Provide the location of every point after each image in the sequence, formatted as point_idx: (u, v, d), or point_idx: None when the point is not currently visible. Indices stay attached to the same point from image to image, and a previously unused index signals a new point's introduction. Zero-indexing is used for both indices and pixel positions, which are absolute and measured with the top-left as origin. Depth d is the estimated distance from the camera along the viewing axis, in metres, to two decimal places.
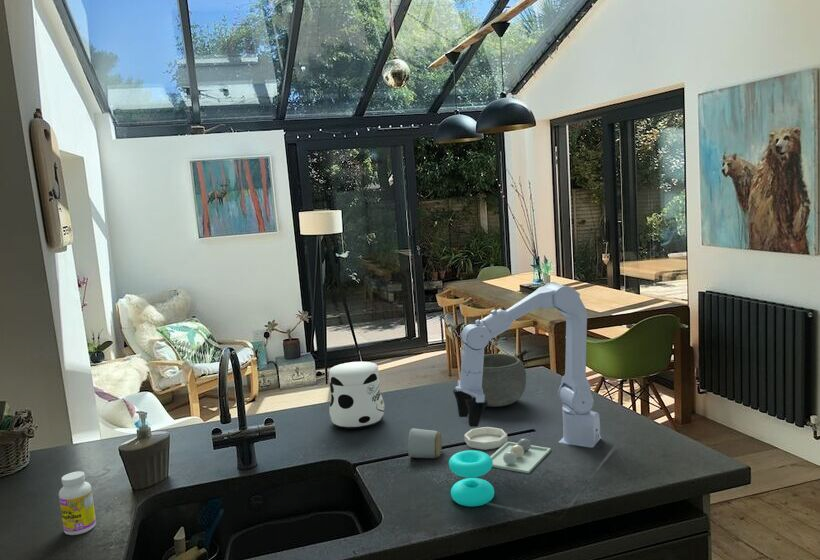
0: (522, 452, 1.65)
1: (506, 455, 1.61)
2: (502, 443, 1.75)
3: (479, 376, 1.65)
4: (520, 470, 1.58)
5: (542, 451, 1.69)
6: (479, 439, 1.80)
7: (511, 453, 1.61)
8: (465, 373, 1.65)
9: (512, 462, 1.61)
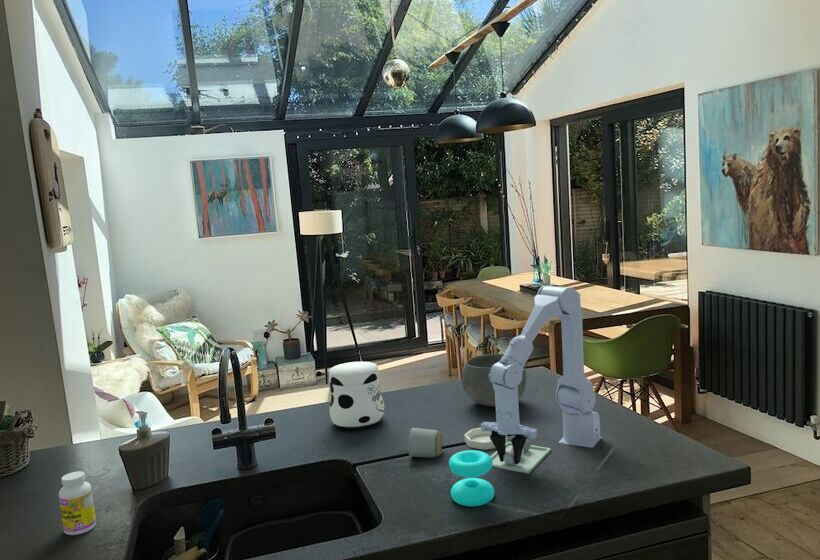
0: (522, 452, 1.65)
1: (506, 455, 1.61)
2: None
3: (518, 412, 1.60)
4: (520, 470, 1.58)
5: (542, 451, 1.69)
6: (479, 439, 1.80)
7: (511, 453, 1.61)
8: (509, 414, 1.58)
9: (512, 462, 1.61)
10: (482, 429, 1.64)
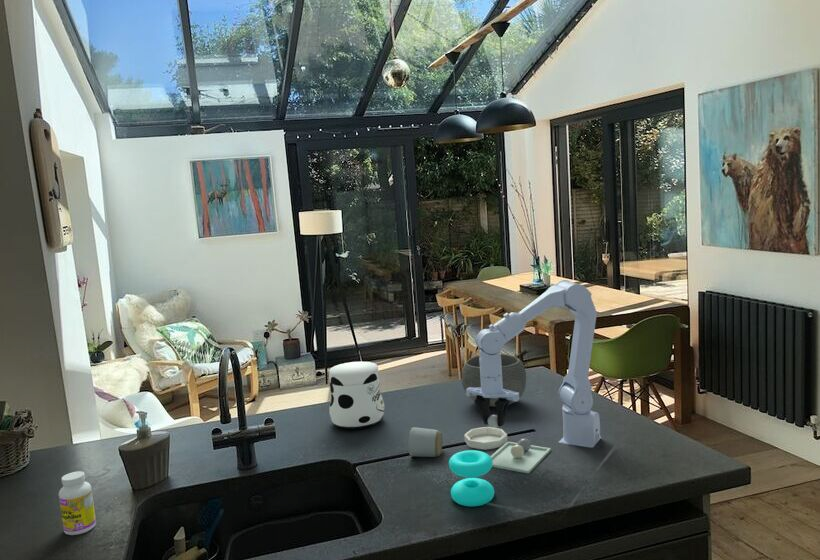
0: (522, 452, 1.65)
1: (490, 418, 1.70)
2: (502, 443, 1.75)
3: None
4: (520, 470, 1.58)
5: (542, 451, 1.69)
6: (479, 439, 1.80)
7: (495, 416, 1.70)
8: (492, 378, 1.67)
9: (496, 424, 1.69)
10: (467, 394, 1.73)
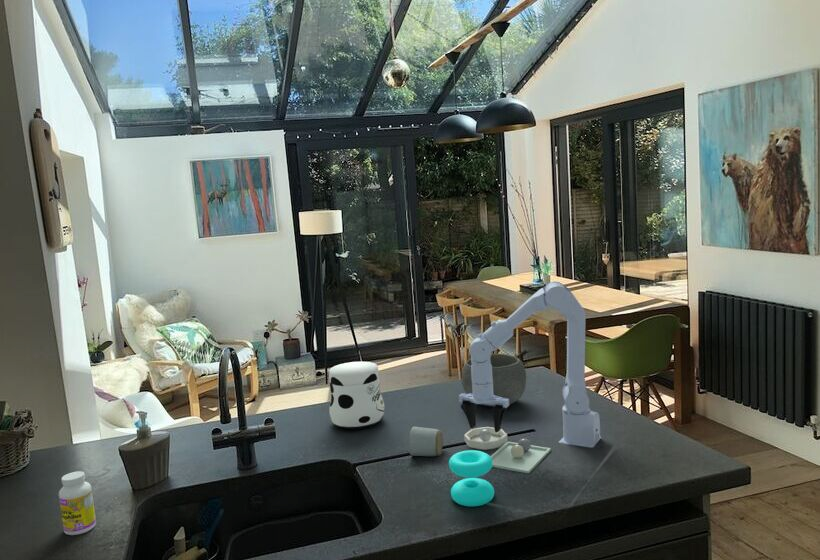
0: (522, 452, 1.65)
1: (482, 432, 1.78)
2: (502, 443, 1.75)
3: (492, 384, 1.76)
4: (520, 470, 1.58)
5: (542, 451, 1.69)
6: (479, 439, 1.80)
7: (486, 430, 1.78)
8: (483, 385, 1.74)
9: (487, 439, 1.77)
10: (460, 400, 1.80)
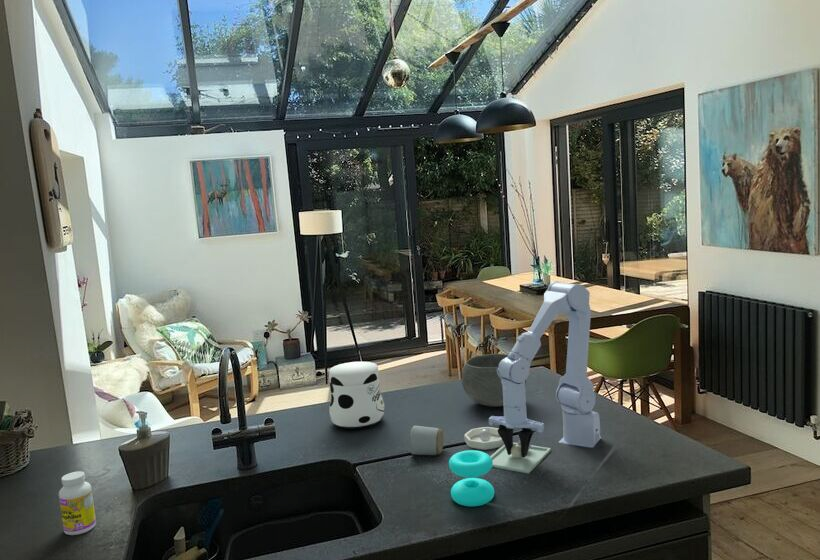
0: None
1: (481, 432, 1.78)
2: (502, 443, 1.75)
3: None
4: (520, 470, 1.58)
5: (542, 451, 1.69)
6: (479, 439, 1.80)
7: (485, 430, 1.78)
8: (516, 408, 1.62)
9: (487, 438, 1.77)
10: (490, 423, 1.68)
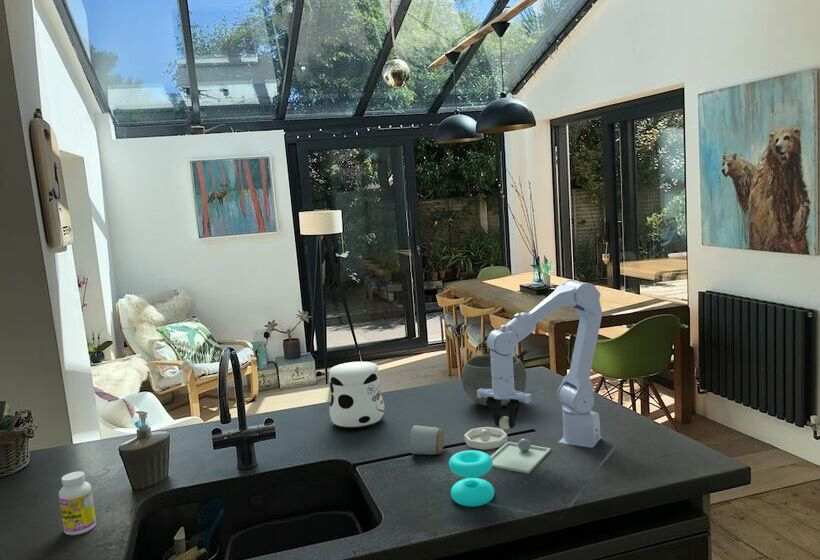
0: None
1: (481, 432, 1.78)
2: (502, 443, 1.75)
3: (513, 378, 1.67)
4: (520, 470, 1.58)
5: (542, 451, 1.69)
6: (479, 439, 1.80)
7: (485, 430, 1.78)
8: (504, 380, 1.65)
9: (487, 438, 1.77)
10: (478, 395, 1.71)
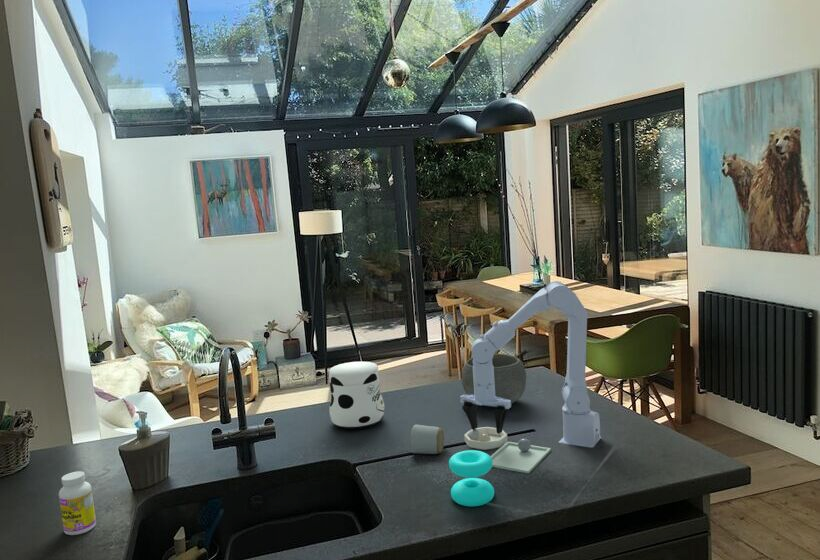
0: None
1: None
2: (502, 443, 1.75)
3: (494, 385, 1.75)
4: (520, 470, 1.58)
5: (542, 451, 1.69)
6: None
7: (468, 435, 1.79)
8: (485, 386, 1.73)
9: (475, 434, 1.78)
10: (461, 401, 1.79)
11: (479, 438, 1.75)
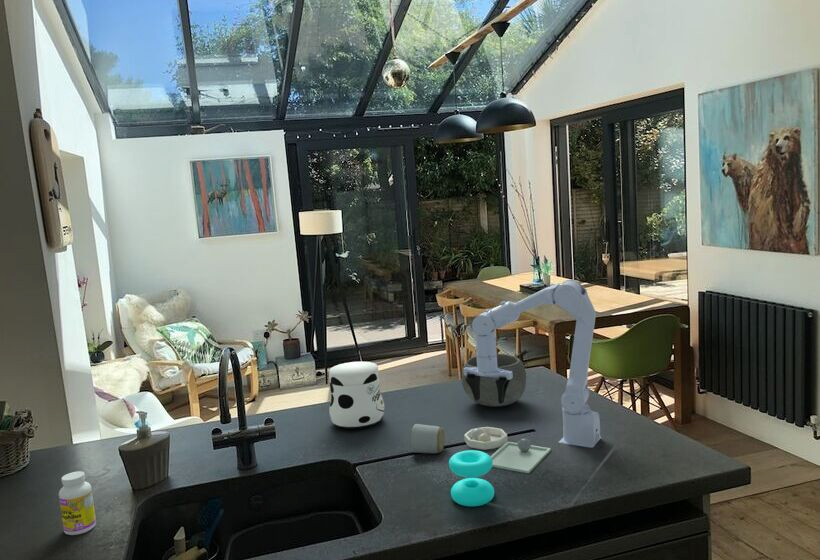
0: None
1: (473, 436, 1.79)
2: (502, 443, 1.75)
3: (496, 357, 1.82)
4: (520, 470, 1.58)
5: (542, 451, 1.69)
6: None
7: (473, 431, 1.79)
8: (488, 358, 1.79)
9: (480, 433, 1.78)
10: (465, 373, 1.86)
11: (480, 437, 1.75)
